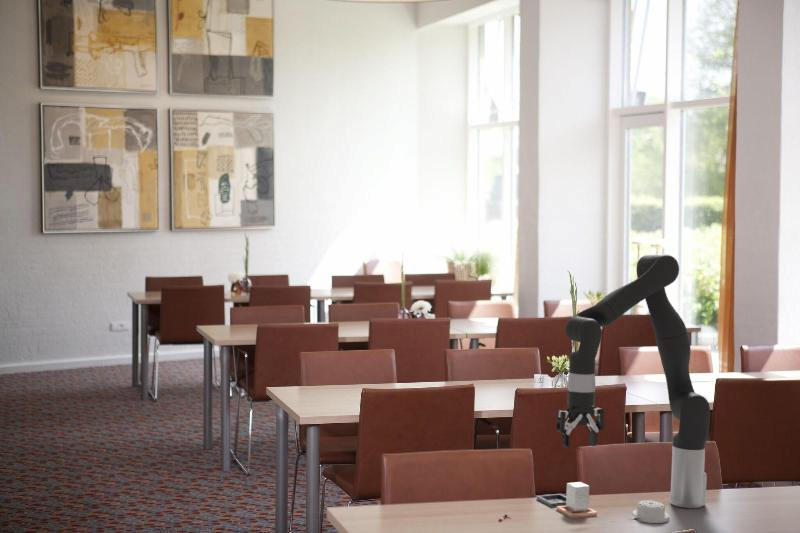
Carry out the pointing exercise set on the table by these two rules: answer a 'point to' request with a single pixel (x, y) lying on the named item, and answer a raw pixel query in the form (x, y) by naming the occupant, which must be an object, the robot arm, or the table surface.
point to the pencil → (502, 518)
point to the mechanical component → (651, 512)
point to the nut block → (577, 497)
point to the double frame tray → (564, 506)
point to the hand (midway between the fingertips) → (579, 446)
